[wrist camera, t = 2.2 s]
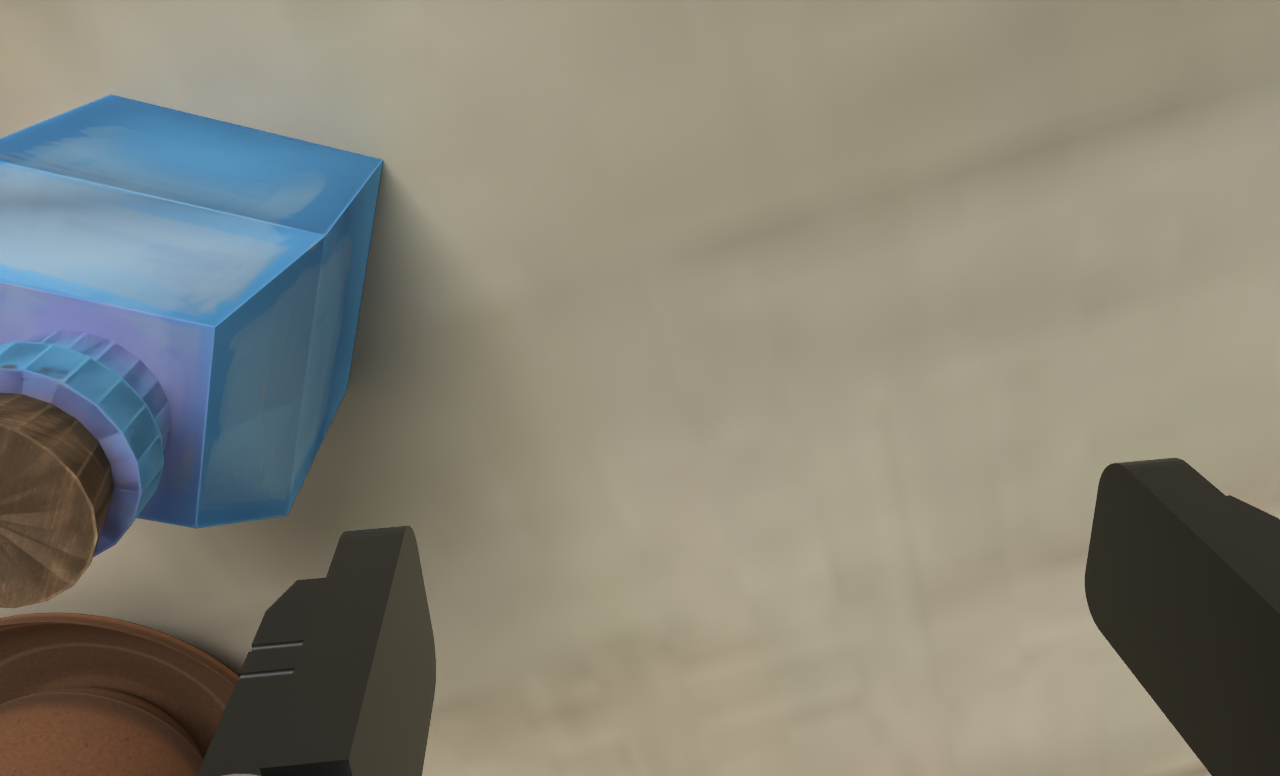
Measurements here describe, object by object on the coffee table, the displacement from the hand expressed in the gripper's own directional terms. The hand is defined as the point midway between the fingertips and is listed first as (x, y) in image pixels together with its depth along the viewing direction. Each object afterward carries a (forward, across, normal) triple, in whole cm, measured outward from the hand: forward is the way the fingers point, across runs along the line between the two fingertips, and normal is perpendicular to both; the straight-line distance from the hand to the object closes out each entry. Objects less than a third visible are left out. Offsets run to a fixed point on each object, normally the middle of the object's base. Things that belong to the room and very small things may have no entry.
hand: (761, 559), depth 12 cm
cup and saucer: (+16, +18, +15) cm, 28 cm away
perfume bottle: (+15, +10, 0) cm, 18 cm away
